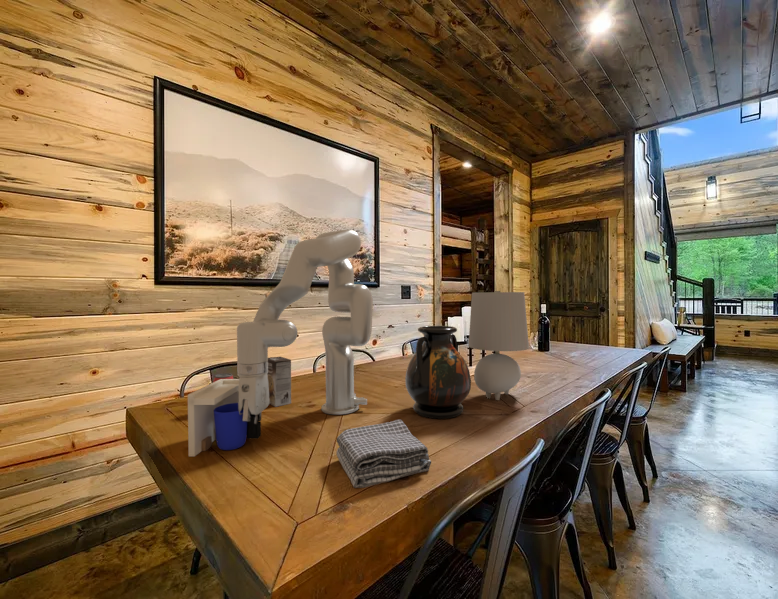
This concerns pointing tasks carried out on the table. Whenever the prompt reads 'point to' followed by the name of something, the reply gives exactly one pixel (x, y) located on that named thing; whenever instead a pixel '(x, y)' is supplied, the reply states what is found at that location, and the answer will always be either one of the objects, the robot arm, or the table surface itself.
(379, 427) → the towel
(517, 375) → the table lamp
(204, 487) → the table surface
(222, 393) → the shelf
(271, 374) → the coffee box
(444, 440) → the table surface
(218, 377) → the beer can
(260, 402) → the robot arm
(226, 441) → the mug
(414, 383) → the amphora vase
